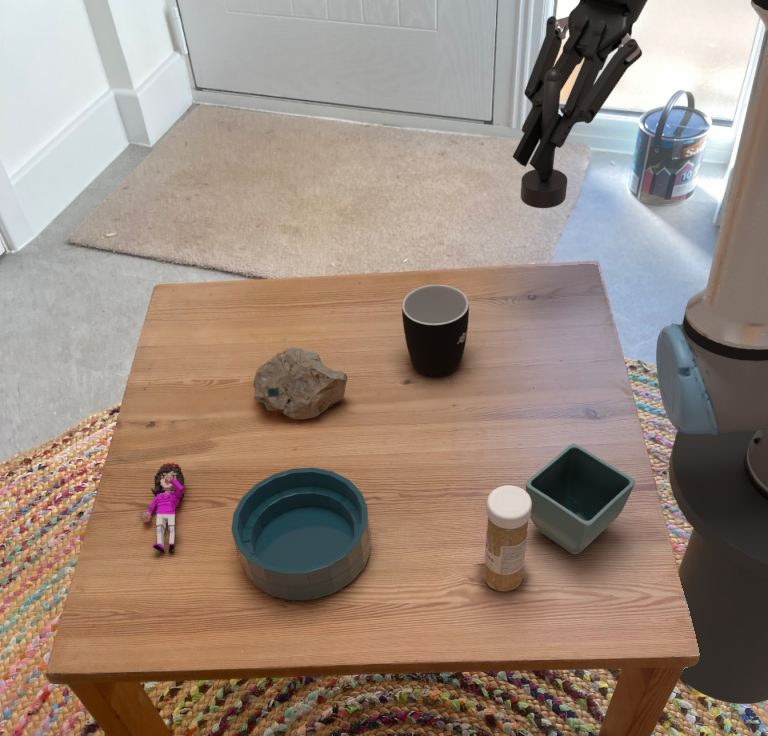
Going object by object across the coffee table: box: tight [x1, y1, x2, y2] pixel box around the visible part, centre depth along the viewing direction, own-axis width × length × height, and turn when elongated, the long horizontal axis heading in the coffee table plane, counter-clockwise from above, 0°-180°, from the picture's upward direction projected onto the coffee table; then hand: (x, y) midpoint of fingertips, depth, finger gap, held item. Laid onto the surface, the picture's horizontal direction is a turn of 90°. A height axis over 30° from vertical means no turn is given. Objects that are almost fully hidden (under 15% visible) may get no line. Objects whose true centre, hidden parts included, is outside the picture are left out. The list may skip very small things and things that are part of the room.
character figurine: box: [141, 462, 185, 554], centre depth 103 cm, size 6×5×12 cm
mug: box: [401, 284, 470, 378], centre depth 117 cm, size 12×9×10 cm
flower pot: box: [524, 443, 636, 555], centre depth 96 cm, size 9×9×9 cm
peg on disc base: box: [520, 69, 568, 209], centre depth 107 cm, size 6×6×16 cm
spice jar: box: [482, 484, 532, 592], centre depth 90 cm, size 5×5×14 cm
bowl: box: [231, 467, 372, 601], centre depth 98 cm, size 15×15×6 cm
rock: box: [252, 347, 348, 420], centre depth 113 cm, size 12×7×10 cm, turn 76°
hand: (527, 164), depth 107 cm, fingers closed on peg on disc base, 2 cm apart
